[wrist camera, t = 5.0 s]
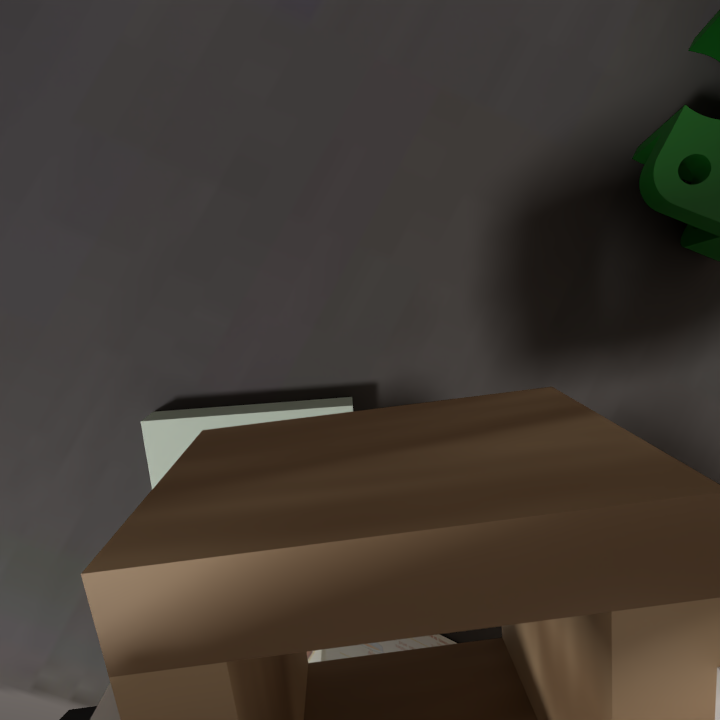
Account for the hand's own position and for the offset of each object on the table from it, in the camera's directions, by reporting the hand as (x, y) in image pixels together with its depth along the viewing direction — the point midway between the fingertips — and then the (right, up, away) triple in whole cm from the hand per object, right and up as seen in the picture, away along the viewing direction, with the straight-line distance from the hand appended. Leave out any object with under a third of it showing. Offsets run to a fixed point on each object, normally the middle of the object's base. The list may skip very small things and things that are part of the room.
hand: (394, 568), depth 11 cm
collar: (0, 0, 0) cm, 0 cm away
